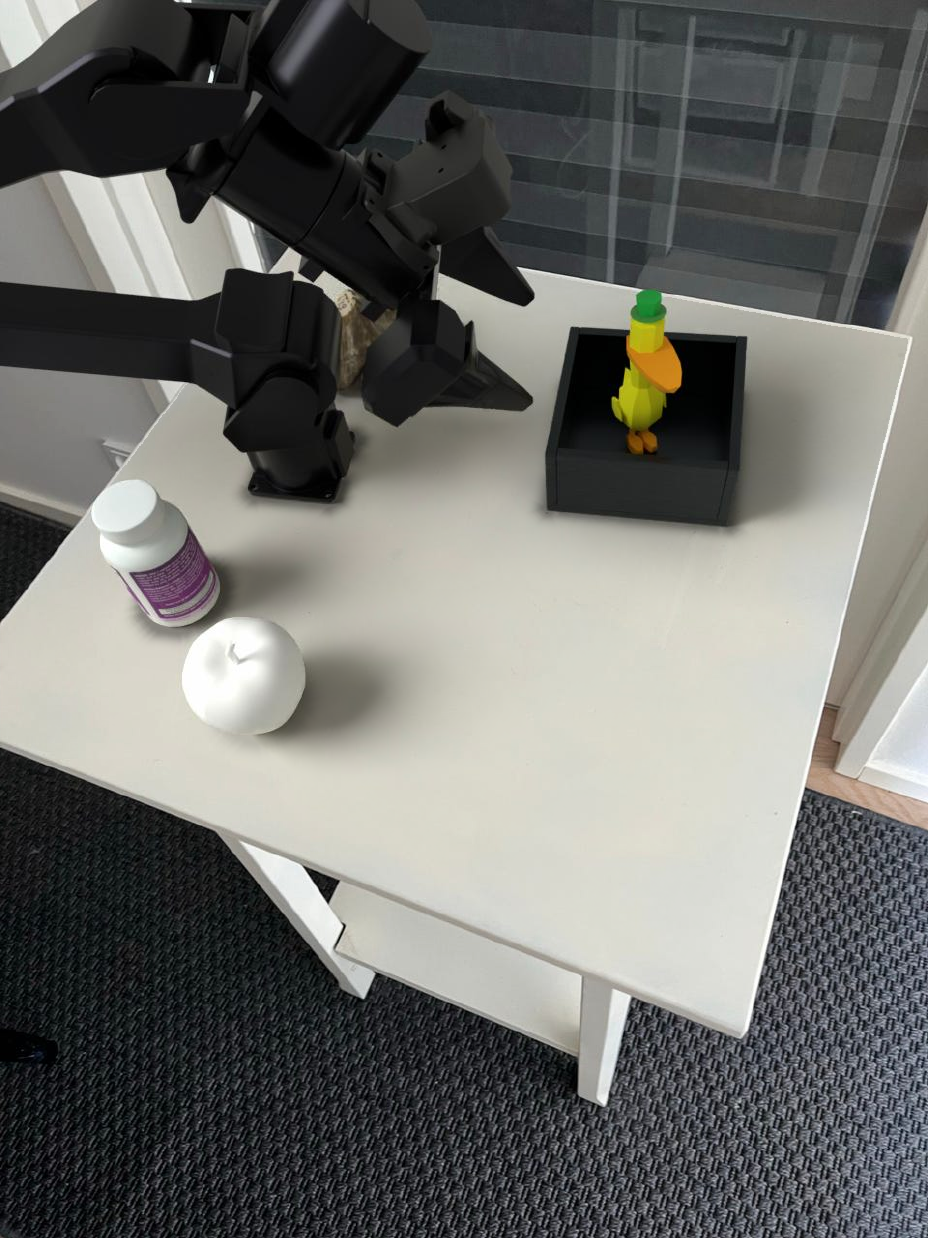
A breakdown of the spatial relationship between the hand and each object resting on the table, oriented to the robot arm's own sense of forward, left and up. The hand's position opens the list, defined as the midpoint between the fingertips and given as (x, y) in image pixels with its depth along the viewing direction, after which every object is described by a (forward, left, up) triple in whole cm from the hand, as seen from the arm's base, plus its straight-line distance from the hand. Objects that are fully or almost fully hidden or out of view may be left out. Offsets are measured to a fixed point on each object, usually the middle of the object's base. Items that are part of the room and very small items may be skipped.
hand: (529, 350), depth 58 cm
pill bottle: (-21, -15, -10) cm, 28 cm away
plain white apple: (-13, -22, -10) cm, 27 cm away
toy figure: (+7, +1, -9) cm, 12 cm away
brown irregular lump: (-14, +8, -10) cm, 19 cm away
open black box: (+8, +1, -10) cm, 12 cm away
